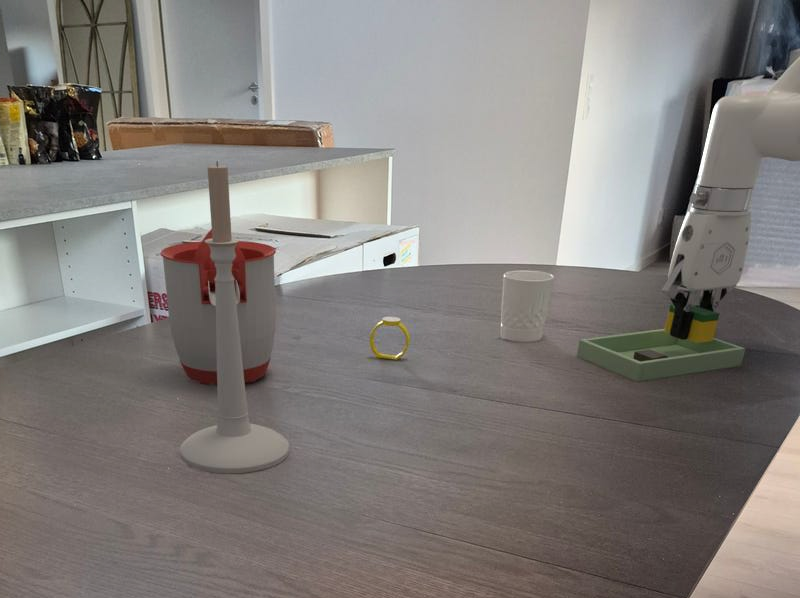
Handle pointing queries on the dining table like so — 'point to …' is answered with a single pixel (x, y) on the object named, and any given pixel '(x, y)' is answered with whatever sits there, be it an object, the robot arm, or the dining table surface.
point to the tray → (681, 353)
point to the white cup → (525, 304)
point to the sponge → (697, 324)
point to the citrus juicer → (197, 306)
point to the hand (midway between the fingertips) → (688, 335)
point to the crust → (648, 355)
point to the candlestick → (229, 365)
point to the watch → (390, 322)
